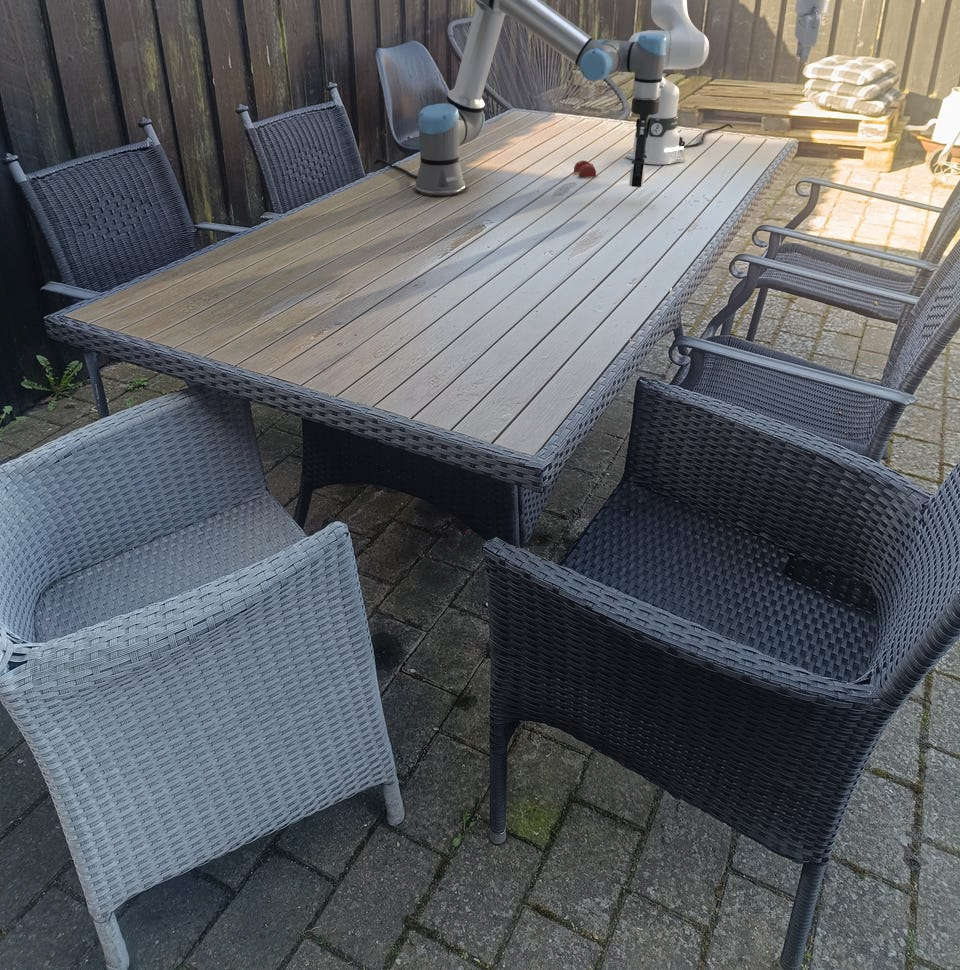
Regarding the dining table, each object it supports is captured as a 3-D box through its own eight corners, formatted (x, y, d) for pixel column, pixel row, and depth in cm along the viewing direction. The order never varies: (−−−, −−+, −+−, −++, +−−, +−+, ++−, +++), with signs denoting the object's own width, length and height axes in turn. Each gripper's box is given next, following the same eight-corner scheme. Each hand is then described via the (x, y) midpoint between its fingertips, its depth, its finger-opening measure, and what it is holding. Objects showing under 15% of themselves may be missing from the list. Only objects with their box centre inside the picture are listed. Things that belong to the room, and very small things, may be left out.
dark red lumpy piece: (589, 157, 273) (597, 163, 266) (588, 170, 275) (597, 177, 269) (572, 158, 272) (581, 165, 265) (572, 172, 274) (580, 179, 268)
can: (641, 187, 243) (643, 170, 241) (627, 186, 245) (629, 169, 242) (644, 183, 246) (646, 167, 244) (631, 182, 248) (632, 165, 245)
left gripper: (658, 104, 224) (648, 193, 238) (661, 91, 238) (651, 176, 252) (630, 103, 226) (621, 191, 239) (634, 90, 239) (626, 175, 253)
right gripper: (829, 10, 231) (817, 65, 239) (818, 1, 247) (807, 54, 255) (805, 9, 232) (794, 65, 240) (796, 1, 248) (786, 53, 256)
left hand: (636, 183), depth 245 cm, fingers closed on can, 4 cm apart
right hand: (801, 59), depth 248 cm, fingers open, 8 cm apart
